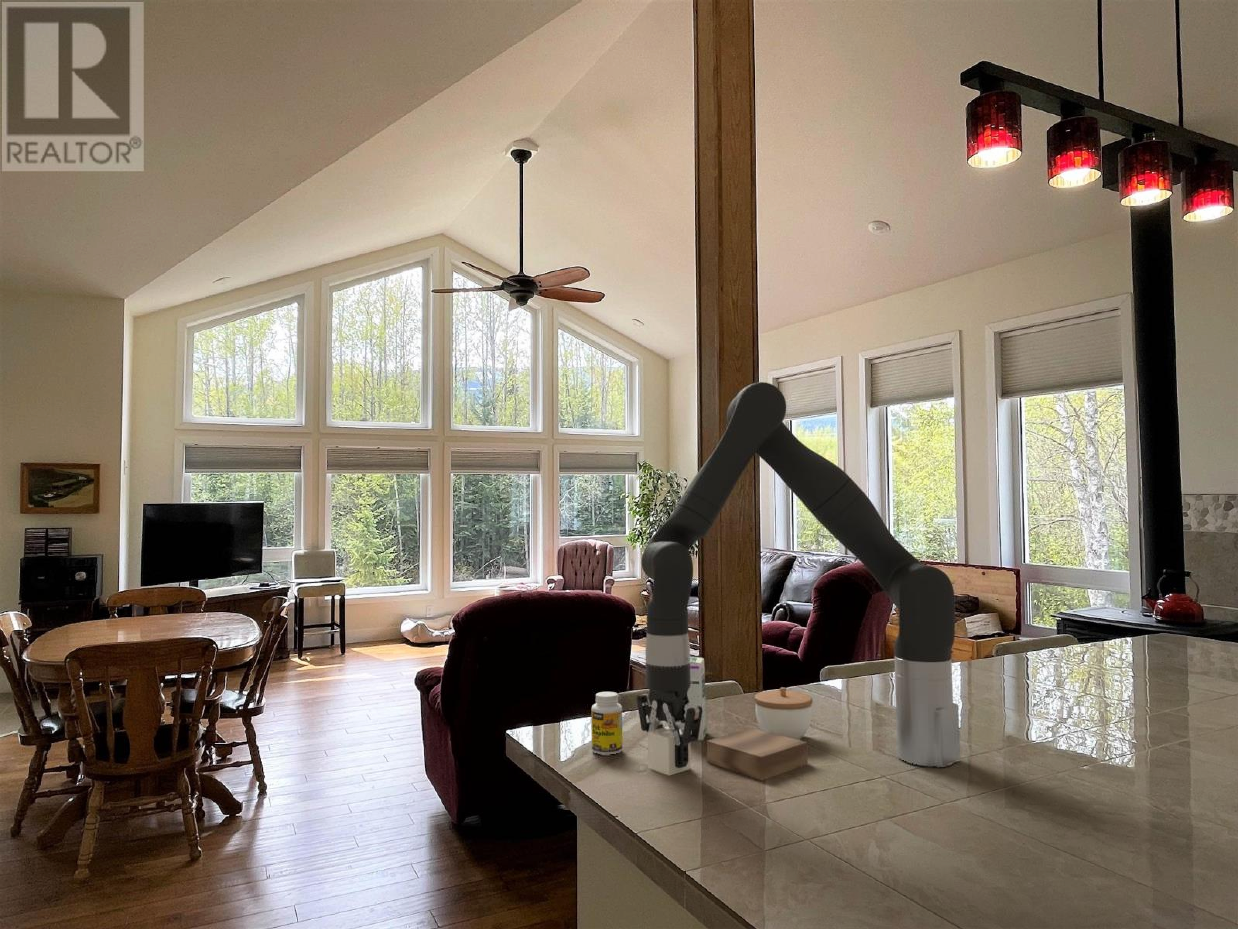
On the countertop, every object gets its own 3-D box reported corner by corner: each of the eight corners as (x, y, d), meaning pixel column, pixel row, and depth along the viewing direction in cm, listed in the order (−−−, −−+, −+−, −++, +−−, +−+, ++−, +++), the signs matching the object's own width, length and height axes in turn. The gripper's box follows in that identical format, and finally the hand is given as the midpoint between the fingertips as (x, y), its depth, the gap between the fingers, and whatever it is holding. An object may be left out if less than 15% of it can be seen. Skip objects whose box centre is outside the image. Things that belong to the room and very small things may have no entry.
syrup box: (704, 741, 147) (702, 662, 148) (672, 739, 148) (671, 661, 149) (706, 732, 152) (705, 656, 153) (676, 731, 154) (675, 656, 154)
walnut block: (807, 766, 133) (807, 742, 133) (762, 782, 125) (761, 757, 126) (752, 750, 142) (752, 728, 142) (707, 764, 134) (706, 741, 135)
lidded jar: (814, 748, 142) (813, 695, 142) (754, 745, 144) (753, 693, 144) (812, 731, 152) (811, 682, 153) (756, 729, 154) (755, 680, 155)
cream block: (690, 769, 131) (690, 732, 132) (669, 775, 128) (668, 738, 128) (669, 761, 135) (669, 726, 135) (648, 768, 132) (647, 731, 132)
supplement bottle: (587, 755, 139) (586, 696, 140) (597, 746, 144) (597, 689, 145) (617, 758, 137) (616, 698, 138) (626, 748, 143) (625, 691, 143)
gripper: (714, 663, 130) (716, 768, 129) (655, 651, 140) (656, 748, 139) (682, 669, 125) (683, 779, 124) (623, 657, 136) (624, 757, 135)
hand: (669, 762), depth 132 cm, fingers closed on cream block, 5 cm apart
